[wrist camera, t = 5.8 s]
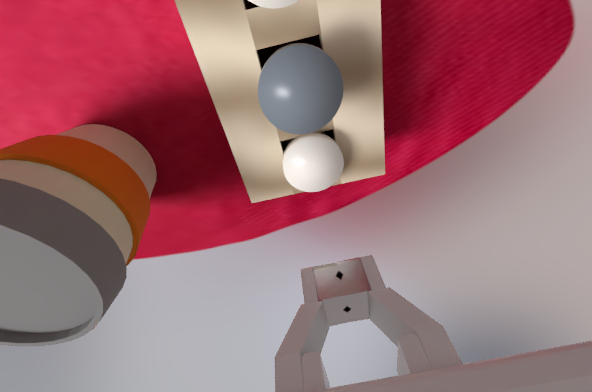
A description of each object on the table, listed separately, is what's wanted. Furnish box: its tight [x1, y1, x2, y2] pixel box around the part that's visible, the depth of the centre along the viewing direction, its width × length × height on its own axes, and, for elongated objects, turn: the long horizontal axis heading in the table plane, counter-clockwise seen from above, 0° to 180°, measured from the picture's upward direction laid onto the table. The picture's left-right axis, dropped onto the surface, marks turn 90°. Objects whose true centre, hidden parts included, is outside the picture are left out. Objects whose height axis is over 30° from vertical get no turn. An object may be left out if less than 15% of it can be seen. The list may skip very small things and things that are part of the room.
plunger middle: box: [258, 43, 343, 134], centre depth 18 cm, size 5×5×7 cm
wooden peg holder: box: [175, 0, 385, 203], centre depth 22 cm, size 19×12×6 cm, turn 12°
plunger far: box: [282, 131, 344, 192], centre depth 25 cm, size 5×5×7 cm
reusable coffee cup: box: [0, 124, 157, 346], centre depth 22 cm, size 13×12×15 cm
